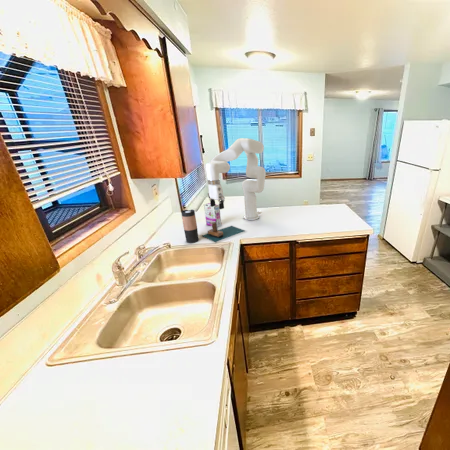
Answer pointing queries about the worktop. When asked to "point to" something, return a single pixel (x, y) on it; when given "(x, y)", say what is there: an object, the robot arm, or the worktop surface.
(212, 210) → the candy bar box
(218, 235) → the brush
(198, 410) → the worktop surface
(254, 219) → the robot arm
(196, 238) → the travel mug
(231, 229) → the mat
